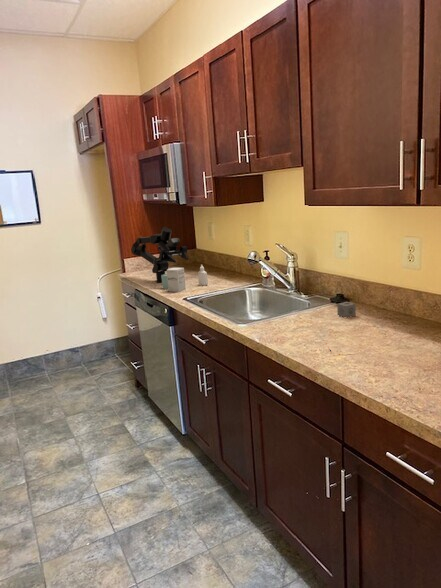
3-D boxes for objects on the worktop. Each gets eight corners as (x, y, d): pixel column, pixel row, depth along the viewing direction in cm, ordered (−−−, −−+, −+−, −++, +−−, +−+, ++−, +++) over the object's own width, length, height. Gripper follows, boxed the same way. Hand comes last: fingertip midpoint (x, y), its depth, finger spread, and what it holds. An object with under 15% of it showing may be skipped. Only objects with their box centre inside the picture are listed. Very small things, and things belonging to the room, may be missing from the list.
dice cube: (355, 315, 185) (355, 303, 183) (346, 318, 182) (346, 306, 181) (346, 313, 189) (346, 301, 188) (337, 315, 186) (337, 303, 185)
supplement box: (168, 291, 255) (165, 269, 253) (175, 288, 262) (173, 267, 259) (179, 292, 252) (176, 269, 249) (186, 289, 258) (184, 267, 255)
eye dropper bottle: (201, 286, 263) (199, 265, 260) (198, 284, 268) (196, 264, 265) (208, 285, 264) (206, 264, 261) (205, 283, 269) (203, 263, 266)
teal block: (162, 288, 265) (161, 275, 263) (168, 286, 269) (167, 273, 267) (168, 289, 262) (167, 275, 260) (174, 287, 266) (173, 274, 264)
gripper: (155, 237, 263) (171, 251, 255) (181, 233, 275) (197, 246, 267) (152, 253, 269) (167, 267, 261) (178, 249, 281) (193, 262, 273)
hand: (181, 260), depth 265 cm, fingers open, 9 cm apart
